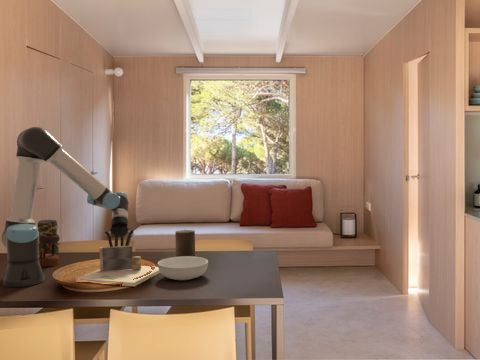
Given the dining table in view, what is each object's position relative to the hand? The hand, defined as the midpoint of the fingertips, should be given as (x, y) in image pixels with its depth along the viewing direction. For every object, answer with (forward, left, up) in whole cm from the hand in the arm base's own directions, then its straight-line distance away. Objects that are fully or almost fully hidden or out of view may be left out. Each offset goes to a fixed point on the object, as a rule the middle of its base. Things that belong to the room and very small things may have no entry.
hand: (118, 263), depth 199 cm
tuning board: (-5, -5, -4) cm, 8 cm away
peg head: (-2, -2, -2) cm, 4 cm away
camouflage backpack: (+27, +60, -4) cm, 66 cm away
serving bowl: (-1, -31, -5) cm, 32 cm away
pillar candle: (+33, -17, -5) cm, 37 cm away
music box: (+7, +43, -4) cm, 44 cm away
